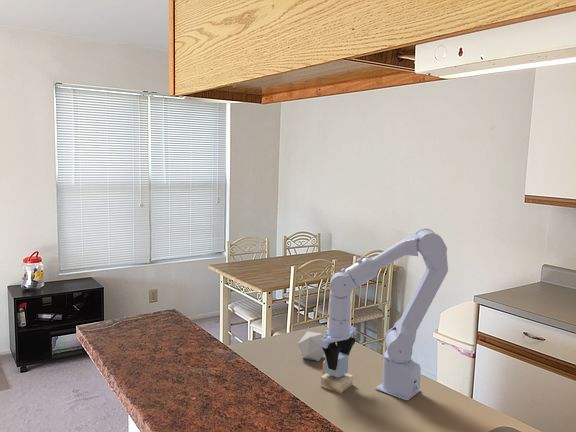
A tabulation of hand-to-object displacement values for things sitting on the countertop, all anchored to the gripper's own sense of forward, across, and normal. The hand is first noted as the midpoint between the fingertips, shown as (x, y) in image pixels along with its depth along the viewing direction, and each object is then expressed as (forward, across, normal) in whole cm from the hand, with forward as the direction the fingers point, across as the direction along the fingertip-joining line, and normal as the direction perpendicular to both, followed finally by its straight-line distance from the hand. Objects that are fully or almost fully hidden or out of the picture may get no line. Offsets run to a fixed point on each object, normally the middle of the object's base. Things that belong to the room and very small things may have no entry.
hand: (337, 366), depth 131 cm
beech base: (+6, 0, 0) cm, 6 cm away
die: (+6, -10, -16) cm, 20 cm away
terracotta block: (+6, -5, -5) cm, 9 cm away
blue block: (+2, 0, 0) cm, 2 cm away
